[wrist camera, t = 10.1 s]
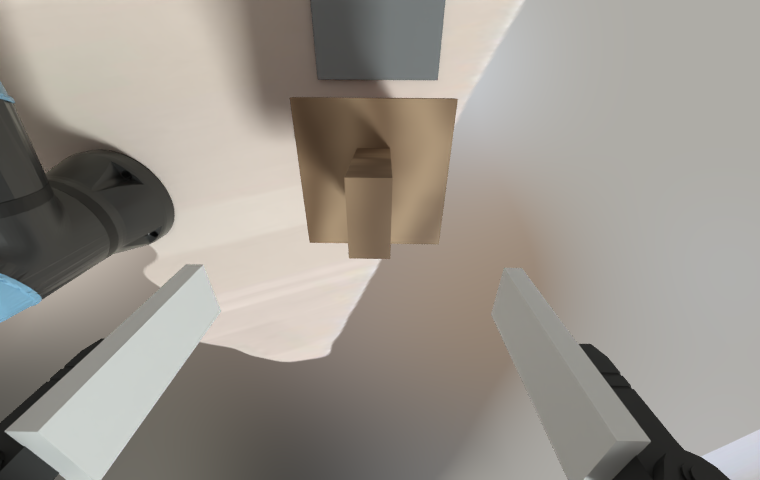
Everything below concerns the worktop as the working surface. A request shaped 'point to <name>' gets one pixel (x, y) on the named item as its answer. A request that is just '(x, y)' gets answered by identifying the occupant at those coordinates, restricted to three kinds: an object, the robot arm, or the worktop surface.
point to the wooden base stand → (373, 169)
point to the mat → (377, 39)
